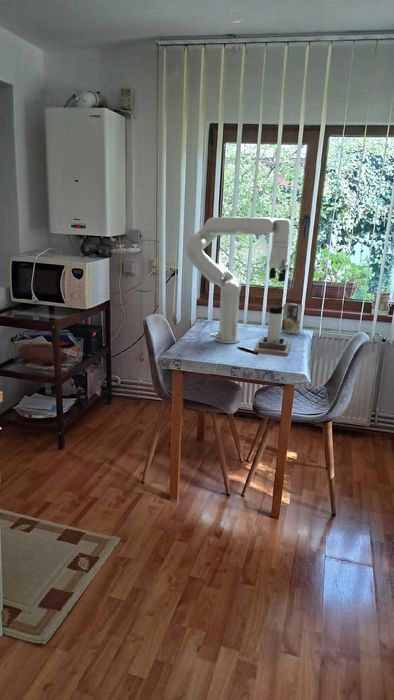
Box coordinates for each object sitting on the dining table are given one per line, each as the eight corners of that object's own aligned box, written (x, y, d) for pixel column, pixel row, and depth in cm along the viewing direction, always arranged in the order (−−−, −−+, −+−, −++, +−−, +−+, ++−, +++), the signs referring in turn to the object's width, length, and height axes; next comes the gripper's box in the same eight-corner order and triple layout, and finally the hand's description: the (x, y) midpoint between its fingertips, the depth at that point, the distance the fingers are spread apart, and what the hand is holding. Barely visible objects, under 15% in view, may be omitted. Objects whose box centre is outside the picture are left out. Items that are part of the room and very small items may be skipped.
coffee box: (300, 332, 280) (302, 304, 276) (295, 334, 275) (298, 306, 271) (285, 329, 285) (287, 302, 280) (280, 331, 280) (283, 303, 275)
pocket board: (287, 355, 233) (288, 347, 232) (254, 352, 236) (254, 344, 235) (290, 344, 253) (291, 336, 252) (259, 341, 257) (260, 333, 256)
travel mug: (276, 347, 240) (280, 308, 234) (264, 345, 243) (267, 306, 238) (281, 345, 245) (285, 306, 240) (269, 342, 248) (272, 304, 243)
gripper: (265, 243, 245) (262, 277, 249) (282, 246, 229) (278, 282, 234) (278, 243, 247) (275, 277, 252) (296, 246, 232) (292, 282, 236)
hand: (276, 279), depth 243 cm, fingers open, 9 cm apart
